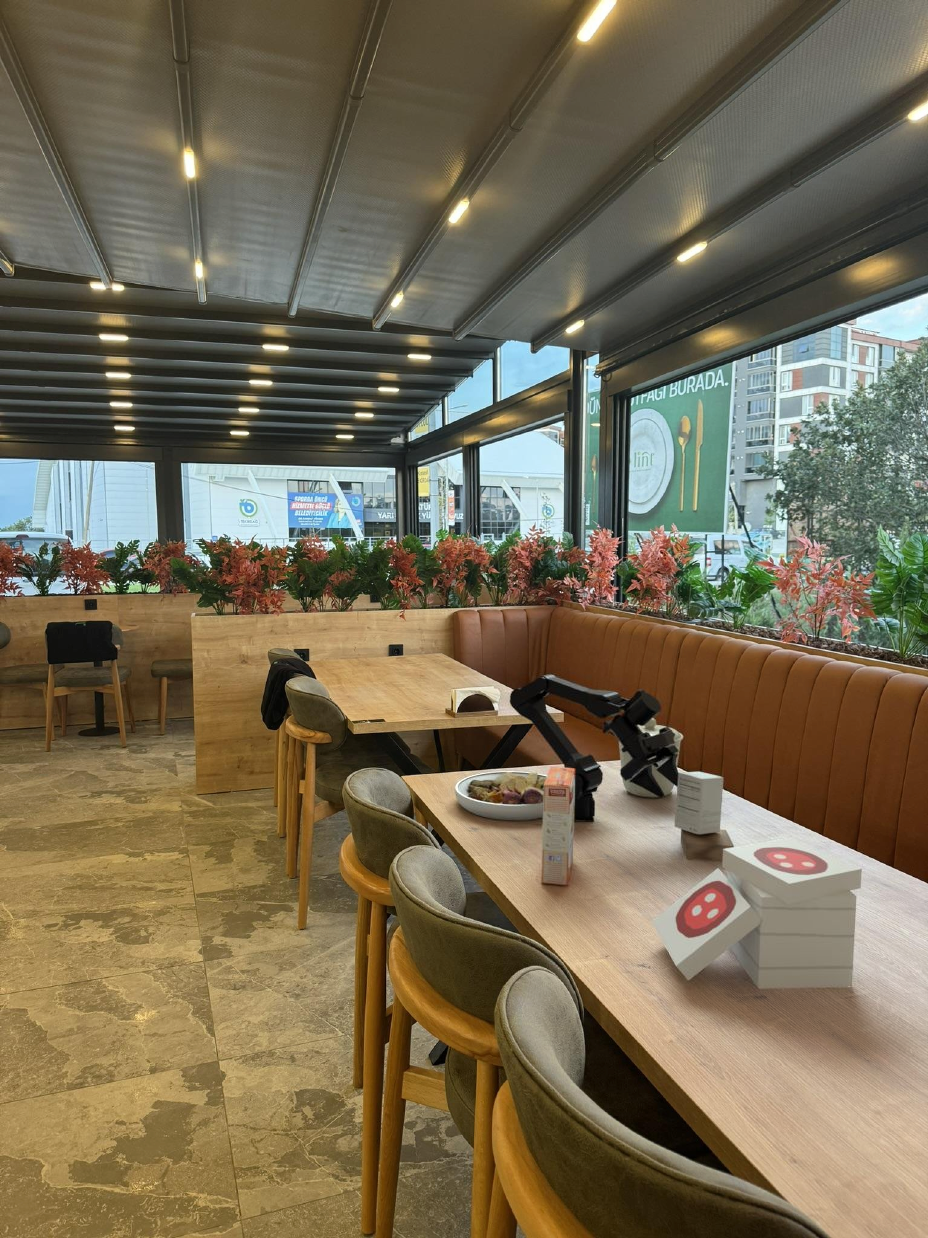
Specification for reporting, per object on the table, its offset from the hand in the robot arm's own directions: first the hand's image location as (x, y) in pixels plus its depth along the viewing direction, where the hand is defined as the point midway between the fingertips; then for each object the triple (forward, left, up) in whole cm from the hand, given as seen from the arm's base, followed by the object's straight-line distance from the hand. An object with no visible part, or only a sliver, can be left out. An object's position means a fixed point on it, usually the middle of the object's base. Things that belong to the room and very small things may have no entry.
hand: (672, 792), depth 186 cm
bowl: (-36, +27, -12) cm, 46 cm away
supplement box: (+5, -3, -8) cm, 10 cm away
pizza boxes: (0, -54, -12) cm, 56 cm away
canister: (+3, +38, -12) cm, 40 cm away
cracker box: (-28, -17, -12) cm, 35 cm away
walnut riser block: (+7, -5, -12) cm, 15 cm away
